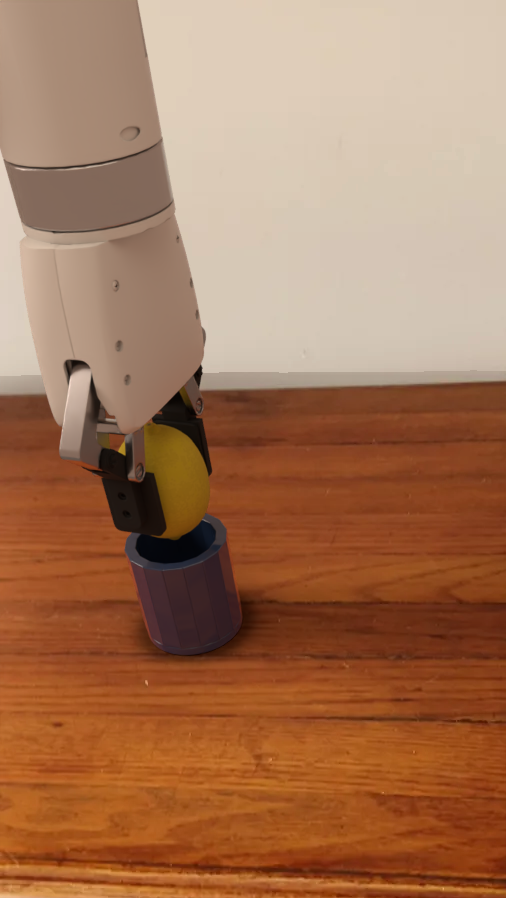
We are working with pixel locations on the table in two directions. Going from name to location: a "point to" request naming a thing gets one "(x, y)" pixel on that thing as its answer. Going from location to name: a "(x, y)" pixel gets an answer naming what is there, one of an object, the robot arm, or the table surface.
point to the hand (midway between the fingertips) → (165, 499)
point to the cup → (186, 588)
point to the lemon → (176, 477)
